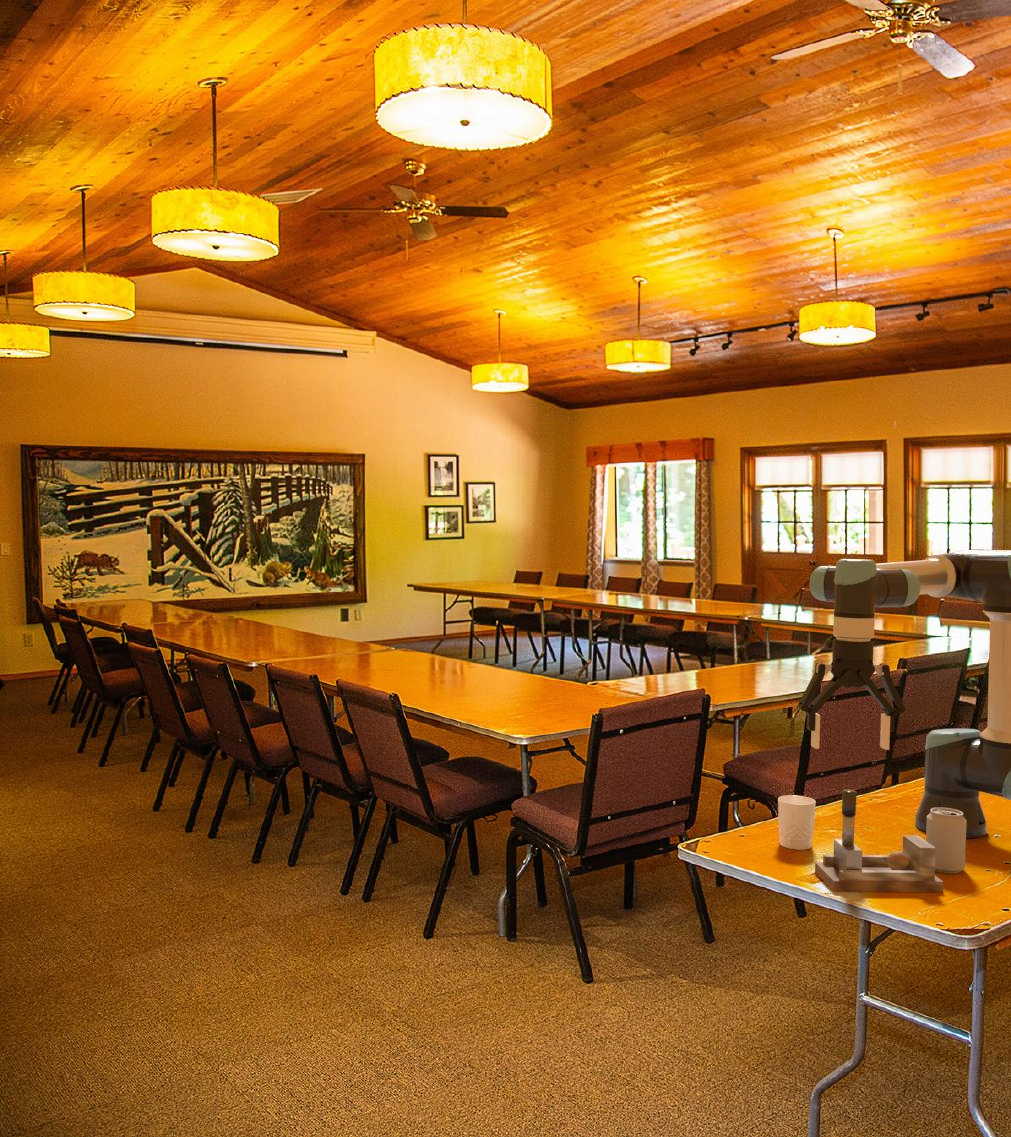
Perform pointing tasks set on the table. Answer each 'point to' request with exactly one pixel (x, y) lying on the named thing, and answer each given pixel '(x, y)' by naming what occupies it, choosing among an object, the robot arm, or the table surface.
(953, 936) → the table surface
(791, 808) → the white cup
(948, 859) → the can
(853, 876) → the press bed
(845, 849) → the ram
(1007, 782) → the robot arm
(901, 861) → the tan ball
